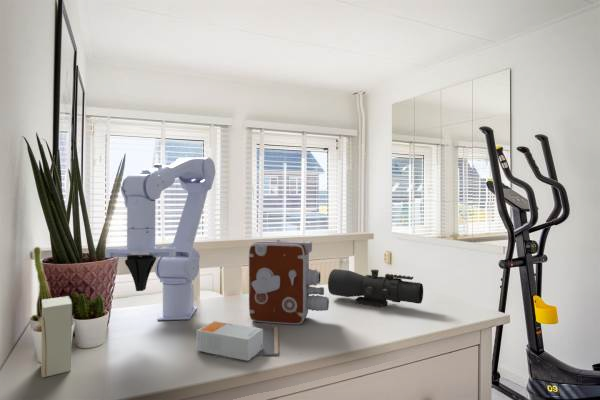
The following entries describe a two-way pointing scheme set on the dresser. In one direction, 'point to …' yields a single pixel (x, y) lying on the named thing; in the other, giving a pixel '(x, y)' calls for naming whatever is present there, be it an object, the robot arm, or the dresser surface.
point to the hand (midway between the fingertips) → (140, 290)
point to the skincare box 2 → (230, 340)
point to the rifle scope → (374, 288)
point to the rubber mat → (267, 343)
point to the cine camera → (283, 282)
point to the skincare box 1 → (56, 336)
